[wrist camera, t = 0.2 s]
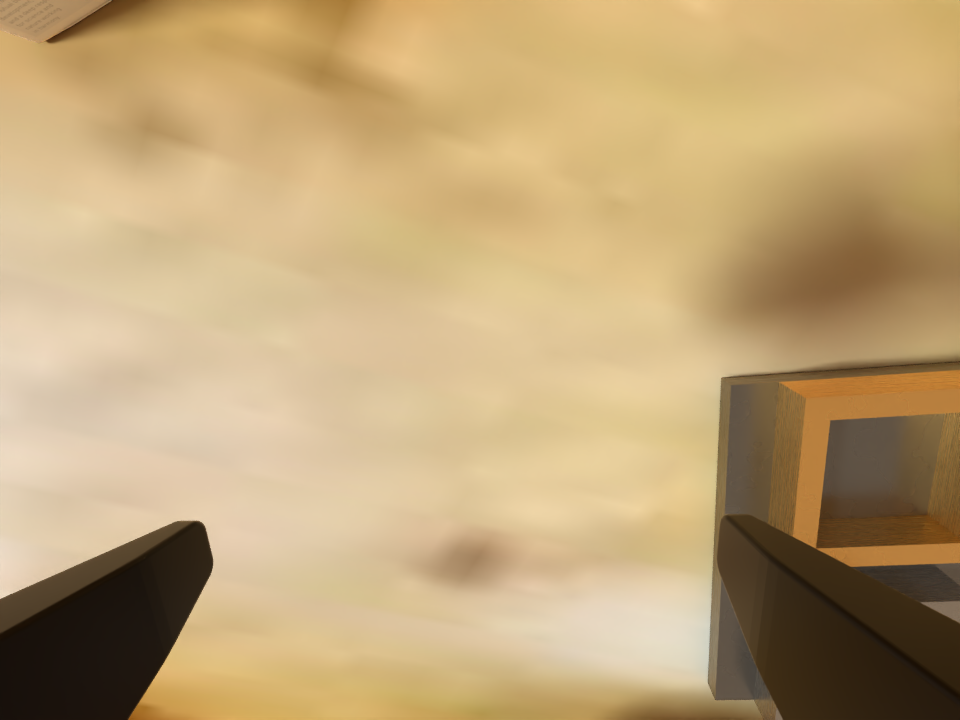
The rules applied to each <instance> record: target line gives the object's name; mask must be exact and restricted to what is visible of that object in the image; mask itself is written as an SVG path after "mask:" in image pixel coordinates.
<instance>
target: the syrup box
mask: <svg viewBox="0 0 960 720" xmlns="http://www.w3.org/2000/svg"><path fill="white" fill-rule="evenodd" d="M111 1H112V0H0V30H2V31H4V32H7V33H10V34H13V35H16V36H18V37H21V38H24V39H27V40H30V41H33V42H37V43H41V42H44V41H46V40H48V39H50V38H51V37H53V36H55V35H56V34H59V33H60V32H62V31H64V30H65V29H67V28H69V27H71V26H73V25H74V24H76V23H78V22H79V21H81V20H82V19H84V18H85V17H87V16H88V15H90V14H92V13H93V12H95V11H96V10H98V9H99V8H101V7H103V6H104V5H106V4H107V3H109V2H111Z"/></svg>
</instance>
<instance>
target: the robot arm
mask: <svg viewBox="0 0 960 720" xmlns="http://www.w3.org/2000/svg"><path fill="white" fill-rule="evenodd" d="M717 565H718V570H719V573H720V576H721V578H722V581H723V583H724V586H725V589H726V591H727V594H728V596H729V599H730V601H731V604H732V607H733V609H734V612H735V614H736V617H737V620H738V622H739V625H740V627H741V630H742V632H743V635H744V638H745V640H746V643H747V645H748V648H749V650H750V653H751V655H752V658H753V660H754V662H755V665H756V667H757V669H758V671H759V673H760V675H761V677H762V679H763V681H764V683H765V685H766V687H767V689H768V691H769V693H770V695H771V697H772V699H773V701H774V703H775V705H776V707H777V709H778V711H779V713H780V715H781V717H782V719H783V720H960V623H959V622H957V621H955V620H953V619H951V618H949V617H947V616H945V615H943V614H941V613H939V612H938V611H936V610H934V609H932V608H930V607H928V606H926V605H924V604H922V603H920V602H918V601H916V600H914V599H912V598H910V597H909V596H907V595H905V594H903V593H901V592H899V591H897V590H895V589H893V588H891V587H889V586H887V585H885V584H883V583H881V582H880V581H878V580H876V579H874V578H872V577H870V576H868V575H866V574H864V573H862V572H860V571H858V570H856V569H854V568H852V567H851V566H849V565H847V564H845V563H843V562H841V561H839V560H837V559H835V558H833V557H831V556H829V555H827V554H825V553H823V552H821V551H820V550H818V549H816V548H814V547H812V546H810V545H808V544H806V543H804V542H802V541H800V540H798V539H796V538H794V537H793V536H791V535H789V534H787V533H785V532H783V531H781V530H779V529H777V528H775V527H773V526H771V525H769V524H767V523H765V522H764V521H762V520H760V519H758V518H756V517H754V516H752V515H749V514H725V515H724V516H723V517H722V518H721V520H720V526H719V537H718V548H717ZM212 568H213V557H212V552H211V548H210V544H209V540H208V536H207V532H206V528H205V526H204V524H203V523H202V522H200V521H177V522H174V523H172V524H169V525H167V526H165V527H162V528H160V529H158V530H156V531H153V532H151V533H149V534H147V535H144V536H142V537H140V538H138V539H135V540H133V541H131V542H128V543H126V544H124V545H122V546H119V547H117V548H115V549H113V550H110V551H108V552H106V553H104V554H101V555H99V556H97V557H94V558H92V559H90V560H88V561H85V562H83V563H81V564H79V565H76V566H74V567H72V568H69V569H67V570H65V571H63V572H60V573H58V574H56V575H54V576H51V577H49V578H47V579H45V580H42V581H40V582H38V583H35V584H33V585H31V586H29V587H26V588H24V589H22V590H20V591H17V592H15V593H13V594H10V595H8V596H6V597H4V598H1V599H0V720H128V719H129V717H130V716H131V714H132V713H133V711H134V709H135V708H136V706H137V705H138V703H139V702H140V700H141V698H142V697H143V695H144V694H145V692H146V691H147V689H148V687H149V686H150V684H151V683H152V681H153V679H154V678H155V676H156V675H157V673H158V671H159V670H160V668H161V667H162V665H163V663H164V662H165V660H166V658H167V656H168V655H169V653H170V651H171V649H172V647H173V646H174V644H175V642H176V640H177V638H178V636H179V634H180V632H181V630H182V628H183V627H184V625H185V623H186V621H187V619H188V617H189V615H190V613H191V611H192V609H193V607H194V605H195V604H196V602H197V600H198V598H199V596H200V594H201V592H202V590H203V588H204V586H205V584H206V583H207V581H208V579H209V577H210V575H211V572H212Z"/></svg>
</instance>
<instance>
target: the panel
mask: <svg viewBox="0 0 960 720" xmlns="http://www.w3.org/2000/svg"><path fill="white" fill-rule="evenodd" d="M725 514H749V515H752V516H754V517H756V518H758V519H760V520H762V521H764V522H765V523H767V524H769V525H771V526H773V527H775V528H777V529H779V530H781V531H783V532H785V533H787V534H789V535H791V536H793V537H794V538H796V539H798V540H800V541H802V542H804V543H806V544H808V545H810V546H812V547H814V548H816V549H818V550H820V551H821V552H823V553H825V554H827V555H829V556H831V557H833V558H835V559H837V560H839V561H841V562H843V563H845V564H847V565H849V566H851V567H852V568H854V569H856V570H858V571H860V572H862V573H864V574H866V575H868V576H870V577H872V578H874V579H876V580H878V581H880V582H881V583H883V584H885V585H887V586H889V587H891V588H893V589H895V590H897V591H899V592H901V593H903V594H905V595H907V596H909V597H910V598H912V599H914V600H916V601H918V602H920V603H922V604H924V605H926V606H928V607H930V608H932V609H934V610H936V611H938V612H939V613H941V614H943V615H945V616H947V617H949V618H951V619H953V620H955V621H957V622H959V623H960V362H949V363H934V364H920V365H905V366H890V367H876V368H861V369H847V370H832V371H817V372H803V373H788V374H774V375H759V376H744V377H730V378H721V400H720V422H719V445H718V467H717V490H716V512H715V535H714V557H713V580H712V603H711V625H710V648H709V670H708V684H709V687H710V689H711V691H712V694H713V696H714V698H715V700H754V701H755V703H756V705H757V707H758V709H759V711H760V713H761V715H762V717H763V719H764V720H783V719H782V717H781V715H780V713H779V711H778V709H777V707H776V705H775V703H774V701H773V699H772V697H771V695H770V693H769V691H768V689H767V687H766V685H765V683H764V681H763V679H762V677H761V675H760V673H759V671H758V669H757V667H756V665H755V662H754V660H753V658H752V655H751V653H750V650H749V648H748V645H747V643H746V640H745V638H744V635H743V632H742V630H741V627H740V625H739V622H738V620H737V617H736V614H735V612H734V609H733V607H732V604H731V601H730V599H729V596H728V594H727V591H726V589H725V586H724V583H723V581H722V578H721V576H720V573H719V570H718V565H717V548H718V537H719V526H720V520H721V518H722V517H723V516H724V515H725Z"/></svg>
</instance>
